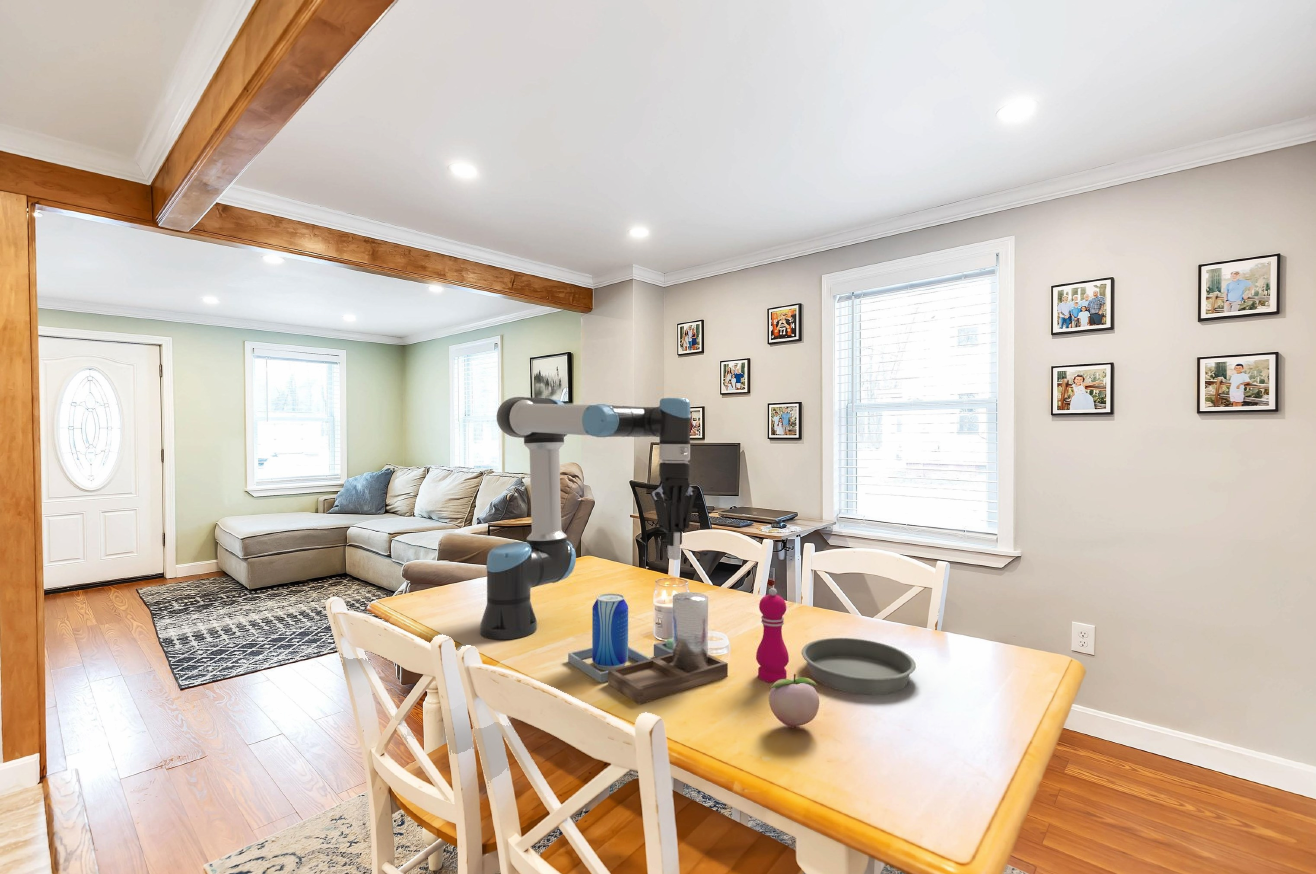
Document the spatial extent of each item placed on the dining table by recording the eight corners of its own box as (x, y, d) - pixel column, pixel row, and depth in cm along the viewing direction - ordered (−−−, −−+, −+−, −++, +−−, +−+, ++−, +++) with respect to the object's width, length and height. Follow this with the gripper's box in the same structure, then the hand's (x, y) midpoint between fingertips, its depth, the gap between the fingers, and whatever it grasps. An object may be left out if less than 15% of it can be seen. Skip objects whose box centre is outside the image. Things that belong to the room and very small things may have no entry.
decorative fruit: (787, 744, 106) (787, 687, 106) (761, 723, 114) (762, 670, 114) (830, 733, 110) (830, 679, 110) (802, 714, 117) (802, 663, 117)
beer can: (622, 673, 137) (623, 603, 137) (587, 670, 139) (587, 600, 139) (631, 659, 145) (632, 593, 145) (598, 657, 147) (598, 591, 147)
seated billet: (665, 665, 138) (665, 595, 138) (692, 658, 142) (692, 590, 142) (687, 677, 131) (687, 604, 131) (715, 669, 136) (715, 598, 136)
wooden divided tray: (608, 684, 131) (608, 670, 131) (693, 660, 145) (693, 647, 145) (639, 704, 121) (639, 689, 121) (727, 676, 136) (727, 663, 136)
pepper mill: (791, 674, 137) (792, 586, 137) (784, 686, 131) (785, 593, 130) (760, 668, 140) (761, 582, 140) (752, 680, 134) (752, 590, 133)
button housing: (653, 656, 148) (653, 644, 148) (676, 650, 152) (676, 638, 152) (670, 665, 142) (671, 652, 142) (693, 659, 146) (694, 646, 146)
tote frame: (568, 661, 144) (568, 653, 144) (618, 649, 152) (618, 641, 152) (600, 683, 132) (600, 674, 132) (653, 668, 140) (653, 659, 140)
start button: (663, 656, 147) (663, 640, 147) (675, 653, 149) (675, 637, 149) (672, 661, 144) (672, 644, 144) (684, 657, 146) (684, 641, 146)
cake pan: (794, 688, 130) (795, 667, 130) (807, 650, 153) (807, 632, 153) (919, 707, 122) (919, 684, 121) (912, 663, 145) (912, 644, 145)
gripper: (662, 463, 140) (661, 564, 140) (705, 461, 147) (704, 558, 147) (643, 461, 146) (643, 559, 146) (686, 460, 153) (685, 553, 153)
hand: (673, 558), depth 147 cm, fingers closed
